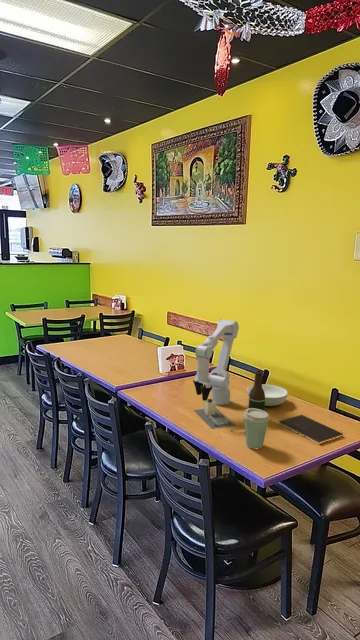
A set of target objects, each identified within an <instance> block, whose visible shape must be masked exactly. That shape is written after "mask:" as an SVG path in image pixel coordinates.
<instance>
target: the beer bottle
mask: <svg viewBox="0 0 360 640" xmlns="http://www.w3.org/2000/svg"><path fill="white" fill-rule="evenodd" d="M263 373H264V372H263V371H262V370H255V372H254V375H255V376H254V382H253V385H254V386H253V388H252V389H251V391H250V394H249V397H248V407H247V409H249V408H255V409H260V410H263V411H265V407H266V406H265V393H264V390H263V389H262V384H263Z"/></svg>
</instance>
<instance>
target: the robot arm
mask: <svg viewBox="0 0 360 640" xmlns="http://www.w3.org/2000/svg"><path fill="white" fill-rule="evenodd" d="M239 329H240V326H239V323H238V321H236V320H235V321H233V320H228V319H222V318H221V319H219V320H218V321H217V324H216V328H215V330H214V332H213V333H212V334H211V335H209V336H207V337H206V339H205V340H204V342H203V343H202V344H198V345H197V346H196V348H195V352H194V354H195V357H196V358H195V360H196V361H197V362H196V363H197V365H196V374H195V375H194V379H193V380H192V382H193V384H194V388H195V394H196V396H200V395H201V396H202V397H201V398H202V401H203V402H205V401H206V400H208V399H209V396H210V399H212V400H213V401H214V402H215V403H216V405H215V406H223V405H227V404H228V405H229V404H230V402H231V390H230V388H229V386H230V378H231V377H230V376H231V375H230V374H229V372H228V371H227V368H228V364H229V360H230V356H231V352H232V347H233V344H234V339H237V336H238V335H239V334H238V333H239ZM221 337H222V338H223V341H222V346H221V348H220V349H221V350H220V353H219V357H218V359H217V365H216V367H215V368H213V369H212V370H211V372H210V359H211V358H212V355H213V353H214V349H215V348H216V347H217V345H218V344H219V339H220V338H221Z"/></svg>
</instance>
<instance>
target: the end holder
mask: <svg viewBox="0 0 360 640" xmlns="http://www.w3.org/2000/svg"><path fill="white" fill-rule="evenodd" d="M208 420H209V421H210V422H211V423H212V424H213V425H214V426H218V425H225V424H229V420H230V418H229V417H228V416H226V415H225V414H224V413H222V412H221V418H213V417H212V416H211V415H208ZM230 421H231V420H230Z"/></svg>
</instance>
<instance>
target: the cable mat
mask: <svg viewBox="0 0 360 640" xmlns="http://www.w3.org/2000/svg"><path fill="white" fill-rule="evenodd" d="M193 412H195V414H197V415H198V416H199V418H201V420H202V421H203V422H204V423H206V425H208V427H209V428H211V430H215V429H223V428H230V427H235V426H237V425H236V424H235V423H234V422H232V420H229V424H225V425H218V426H214V425H213V424H212V423H211V422H210V421H209V420H208V416H207V415H206V414H205V413H204V408H201V409H200V408H199V409H193ZM221 413H222V412H221V411H220V410H219V409H218V408H217V407H215V415H211V416H212V417H213V418H221Z"/></svg>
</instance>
